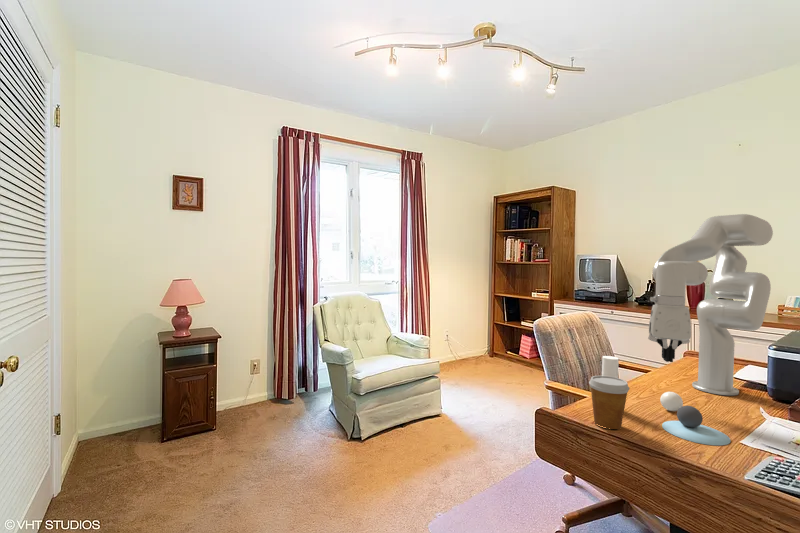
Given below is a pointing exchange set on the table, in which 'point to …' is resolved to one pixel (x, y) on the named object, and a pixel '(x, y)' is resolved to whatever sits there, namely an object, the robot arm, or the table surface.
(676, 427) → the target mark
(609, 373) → the tube
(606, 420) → the disposable coffee cup
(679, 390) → the table surface
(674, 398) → the cue ball
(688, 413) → the object ball
